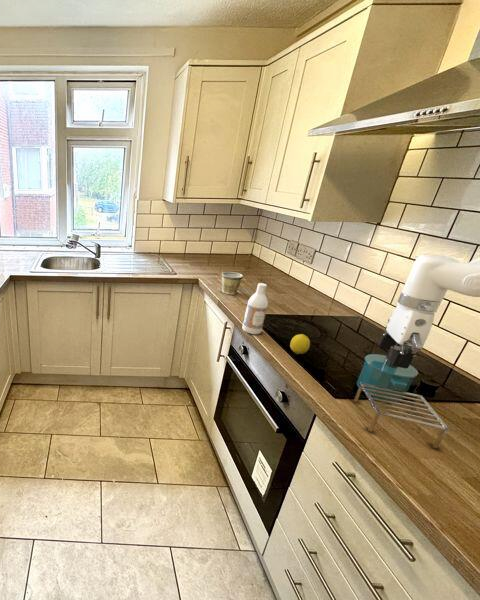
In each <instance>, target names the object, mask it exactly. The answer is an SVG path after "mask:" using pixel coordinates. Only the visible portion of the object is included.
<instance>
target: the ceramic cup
mask: <svg viewBox="0 0 480 600" xmlns="http://www.w3.org/2000/svg"><path fill="white" fill-rule="evenodd" d="M243 277H244V276H243V274H241V273H240V272H239V273H238V272H235V271H223V272H222V273H221V292H222V293H223V294H225V295H233V296H234V295H236V294H237V291H238V289H239V288H241V287H242V286H244V285H247V283H248V279H247V278H243ZM242 281H245V283H243V284H241V283H242ZM240 284H241V285H240Z"/></svg>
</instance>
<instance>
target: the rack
mask: <svg viewBox="0 0 480 600" xmlns="http://www.w3.org/2000/svg"><path fill="white" fill-rule="evenodd" d="M359 384H360V386H359V387H357V391H356V393H355V395H354V398H353V400H352V401H353V403H358V401H359V398H360V396H361V393H362V392H363V391H364V392H363V393H364V395H365V397H366V398H367V400H368V402H369V403H370V405H371V407H372V408H373V410H374V412H375V413H374V416H373V418H372V421H371V423H370V425H369V427H368V428H367V431H368V432H371V433H372V432H373V431H374V429H375V427H376V424H377V422H378V420H379V418H380V416H384V417H388V418H392V419H397V420H401V421H405V422H409V423H413V424H417V425H422V426H426V427H431V428H435V429H439V430H440V431H439V433H438V435H437V437H436V438H435V440H434V442H433V444H432V445H431V447H432V448H433V449H438V448H439V446H440V444H441V443H442V441H443V439H444V437H445V436H446V434H447V432H450V431H451V429H450V428H449V427H448V425H447V424H446V423H445V422H444V420H443V419H442V418H441V417H440V416H439V414H438V413H437V412H436V411H435V410H434V409H433V407H432V406H431V405H430V403H429V402H428V401H427V400H426V399H425V398H424V397H423V395H421V394H416V393H412V392H408V391H407V392H403V391H398V390H393V389H388V388H384V387H379V386H374V385H370V384H365V383H359ZM365 386H367V387H371V388H376V389H381V390H385V391H390V392H395V393H399V394H404V395H405V396H401V395H396V394H392V393H387V392H382V391H378V390H373V389H368V388H366V387H365ZM362 389H363V391H362ZM367 390H369V391H373V392H378V393H383V394H387V395H392V396H396V397H401V398H404V399H403V400H401V399H397V398H392V397H388V396H383V395H378V394H374V393H369V392H368V391H367ZM370 395H374V396H378V397H383V398H388V399H392V400H397V401H401V402H402V403H400V402H392V401H387V400H383V399H378V398H375V397H372V396H370ZM405 399H406V400H405ZM378 401H379V402H378ZM390 404H392V405H390ZM410 404H411V405H410ZM378 405H379V406H378ZM396 405H397V406H396ZM380 406H383V407H380ZM400 406H401V407H400ZM419 406H420V407H419ZM384 407H388V408H384ZM390 408H391V409H390ZM409 408H410V409H409ZM393 409H396V410H393ZM380 410H381V411H380ZM398 410H400V411H398ZM416 410H419V411H416ZM384 411H385V412H384ZM403 411H404V412H403ZM407 412H408V413H407ZM425 412H426V413H425ZM393 413H394V414H393ZM396 414H398V415H396ZM401 415H403V416H401ZM420 415H422V416H420ZM405 416H407V417H405ZM423 416H424V417H423ZM409 417H411V418H409ZM428 417H430V418H428ZM414 418H415V419H414ZM432 418H434V419H432ZM418 419H419V420H418ZM422 420H424V421H422ZM426 421H428V422H426ZM430 422H433V423H430ZM434 423H436V424H434Z"/></svg>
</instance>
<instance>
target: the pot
mask: <svg viewBox="0 0 480 600" xmlns="http://www.w3.org/2000/svg"><path fill="white" fill-rule="evenodd" d="M414 379H415V377H414V378H402V377H397V376H393V375H389V374H386V373H383V372H381V371H379V370H376V369H374V368H373V367H371V366H370V365H368V364H367V363H366V362H365V361H364V363H363V365H362V368H361V370H360V373H359V375H358V378H357V380H356V386H357V388H359V386H360V384H359V383H365V384H370V385H374V386H379V387H384V388H388V389H393V390H398V391H403V392H407V393H408V392H409V388H410V387H411V385H412V383H413V381H414ZM365 387H366V388H368V389H373V390H378V391H382V392H387V393H392V394H396V395H401V396H406V395H404V394H399V393H395V392H390V391H385V390H381V389H376V388H371V387H367V386H365ZM367 391H368V392H369V393H374V394H378V395H383V396H388V397H392V398H397V399H401V400H405V398H401V397H396V396H392V395H387V394H383V393H378V392H373V391H369V390H367ZM361 392H363V393H364V391H363V389H362V391H361ZM370 396H371V397H374V398H378V399H383V400H387V401H392V402H396V403H400V402H401V401H397V400H392V399H388V398H383V397H378V396H374V395H370Z"/></svg>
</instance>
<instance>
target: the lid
mask: <svg viewBox="0 0 480 600" xmlns="http://www.w3.org/2000/svg"><path fill="white" fill-rule="evenodd" d="M387 351H388V352H387V354H386V355H384V354H377V353H372V354H367V355H366V356H364V363H365V362H366V363H367V364H368V365H370V366H371V367H373V368H374V369H376V370H379V371H381V372H383V373H386V374H389V375H393V376H397V377H402V378H414V379H415V378H416V377H417V376H418V375H419V371H418V370H417V368H415V367H414V366H413V365H411V364H410V365H409V367H408V368H401V367H396V366H393V365H392V363H393V361H394V359H395V356H396V354H397V352H399V353H400V345H395V346H394V345H392V346H391V347H390V349H389V350H387Z"/></svg>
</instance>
